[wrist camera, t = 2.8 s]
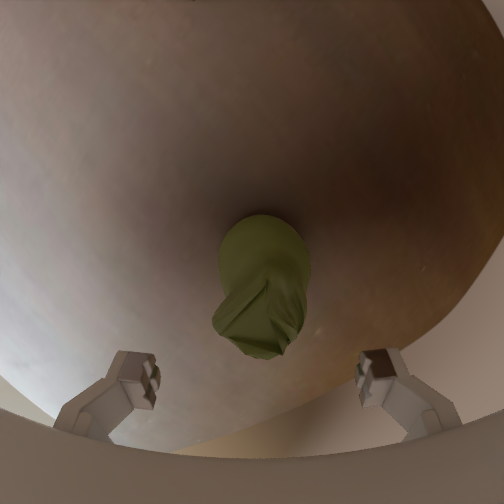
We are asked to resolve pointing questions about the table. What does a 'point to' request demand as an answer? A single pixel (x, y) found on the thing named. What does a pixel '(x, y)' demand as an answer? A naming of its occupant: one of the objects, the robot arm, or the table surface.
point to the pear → (262, 286)
